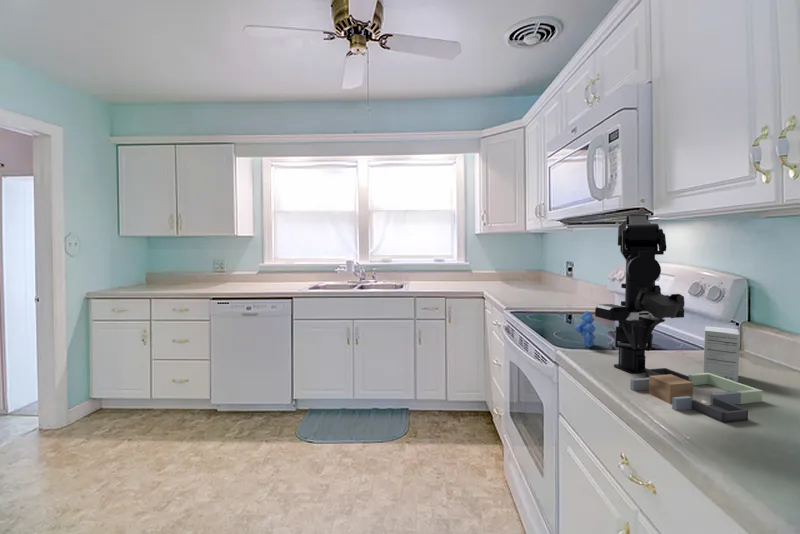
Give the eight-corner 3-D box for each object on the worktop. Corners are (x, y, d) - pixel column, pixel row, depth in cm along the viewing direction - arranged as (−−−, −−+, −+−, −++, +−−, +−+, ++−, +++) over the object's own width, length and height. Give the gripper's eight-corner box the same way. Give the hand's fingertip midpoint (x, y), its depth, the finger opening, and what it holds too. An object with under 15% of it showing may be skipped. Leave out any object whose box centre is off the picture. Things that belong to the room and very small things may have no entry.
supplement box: (703, 369, 114) (705, 325, 113) (737, 375, 109) (739, 329, 109) (702, 376, 108) (704, 330, 108) (738, 382, 104) (740, 333, 103)
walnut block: (648, 394, 96) (649, 375, 96) (670, 392, 97) (671, 374, 97) (669, 404, 90) (670, 384, 90) (692, 402, 92) (693, 382, 91)
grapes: (571, 341, 148) (572, 308, 147) (591, 342, 146) (592, 309, 145) (576, 349, 136) (577, 314, 136) (598, 350, 135) (599, 315, 134)
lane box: (610, 379, 106) (610, 370, 106) (683, 373, 111) (684, 364, 111) (706, 424, 80) (707, 412, 80) (798, 414, 84) (798, 402, 84)
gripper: (631, 284, 81) (629, 361, 82) (708, 282, 85) (705, 355, 85) (594, 279, 92) (592, 347, 93) (664, 278, 95) (662, 343, 96)
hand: (638, 348), depth 91 cm, fingers closed
